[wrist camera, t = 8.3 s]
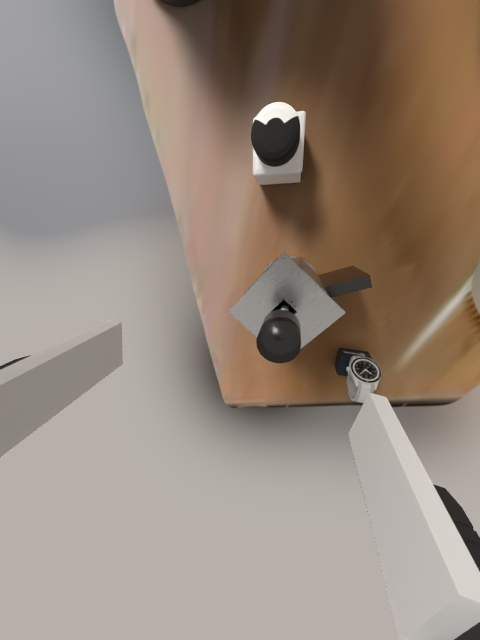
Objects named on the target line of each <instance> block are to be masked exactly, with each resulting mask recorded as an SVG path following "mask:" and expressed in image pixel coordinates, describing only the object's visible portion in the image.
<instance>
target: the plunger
mask: <svg viewBox="0 0 480 640" xmlns="http://www.w3.org/2000/svg"><path fill="white" fill-rule="evenodd" d="M274 309H276V310H275V311H273V312H271V313H269V314H268V315H267V316H266V317H265V319H264V321H263V323H262V326H261V329H260V331H259V334H258V336H257V348H258V350H259V352H260V354H261V355H262V356H263V357H264V358H265V359H267V360H269V361H271V362H274V363H285V362H289V361H291V360H293V359H294V358H295V357H296V356H297V355H298V353H299V351H300V348H301V329H300V322H299V320H298V318H297V317H296V316H295V315H294V314H293V313H291V312H295V311H296V310H295V309H294V308H292V307H291V306H290V305H289V304H288V303H287V302H286V301H285V300H283V301H281V302H280V303H279V304H278V305H277V306H276V307H275V308H274Z"/></svg>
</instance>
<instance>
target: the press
mask: <svg viewBox="0 0 480 640" xmlns="http://www.w3.org/2000/svg"><path fill="white" fill-rule="evenodd" d="M371 287H372V285H371V279H370V275H368V274H366V273H365V272H363V271H361V270H359V269H358V268H356V267H354V266H351V267H347V268H343V269H340V270H336V271H333V272H329V273H325V274H322V275H318V274H317V273H316V271H315V269H314V268H313V266H312V265H311V264H310V263H309V262H308V261H306V260H305V259H303V258H300V257H297V256H288V255H287V254H286V253H285V252H284V253H283V254H282V255H281V256H280V257H279V258H277V259H275V260H274V261H272V262H271V263H270V264H269V265H268V266H267V267H266V268H265V270H264V271H263V273H262V275H261V276H260V277H259V278H258V279H257V280H256V281H255V282H254V283H253V284H252V286H251V287H250V288H249V289H248V290H247V291H246V292H245V294H244V296H243V297H242V298H241V299H240V300H239V301H238V302H237V303H236V304H235V305H234V306H233V307H232V308H231V309H230V311H229V312H230V313H231V314H232V315H233V316H234V317H235V318H236V319H237V320H238V321H239V322H240V323H242V324H243V325H244V326H245V327H246V328H247V329H248V330H249V331H250V332H251V333H252V334H253V335H254V336H256V337H257V336H258V334H259V331H260V329H261V326H262V323H263V321H264V319H265V317H266V316H267V315H268V314H269V313H271V312H273V311H275V310H276V309H274V308H275V307H276V306H277V305H278V304H279V303H280V302H281V301H283V300H285V301H286V302H287V303H288V304H289V305H290V306H291V307H292V308H294V309H295V310H296V311H295V312H291V313H293V314H294V315H295V316H296V317H297V318H298V320H299V322H300V329H301V348H303V347H304V346H305V345H306V344H308V343H309V342H310V341H311V340H313V339H314V338H315V337H316V336H318V335H319V334H320V333H321V332H323V331H324V330H325V329H326V328H328V327H329V326H330V325H331V324H332V323H334V322H335V321H336V320H337V319H339V318H340V317H341V316H342V315H344V314H345V313H346V312H345V311H344V310H343V309H342V308H341V307H340V306H339V305H338V304H337V303H336V302H335V301H334V300H333V299H332V298H331V297H334V296H338V295H342V294H346V293H350V292H354V291H358V290H362V289H366V288H371ZM301 348H300V349H301Z"/></svg>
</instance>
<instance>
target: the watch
mask: <svg viewBox="0 0 480 640" xmlns="http://www.w3.org/2000/svg"><path fill="white" fill-rule="evenodd" d="M335 368H336V372H337V374H339V375H345V376H348V378H347V381H346V384H347V390H348V395H349V396H350V399H351V400H352V401H355V402H360V403H364V402H365V400H366V398H367V396H368V394H369V393H373V392H374V390H376V388H377V385H378V382H379V380H380V379H381V376H382V371H381V369H380V367H379V365H378V364H377V363H376V362H374V361H373V359H372V358H371V356H370V355H369V353H368V352H364V351H357V350H350V349H342V348H339V350H338V355H337V359H336V364H335Z"/></svg>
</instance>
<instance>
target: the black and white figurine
mask: <svg viewBox="0 0 480 640" xmlns="http://www.w3.org/2000/svg"><path fill="white" fill-rule="evenodd" d="M305 121H306V112H305V111H299V112H296V111H295V110H294V109H293V108H292V107H291V106H290V105H288V104H286V103H283V102H274V103H271V104H269V105H267V106H266V107H264V108H263V109H262V110H261V111H260V112H259V113H258V115H257V116H256V117H255V118H254V119H253V126H252V131H251V141H252V145H253V176H254V177H255V178H256V180H257V181H258V182H259V184H260V185H268V184H283V183H298V182H301V180H302V167H303V152H304V136H305Z"/></svg>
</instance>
